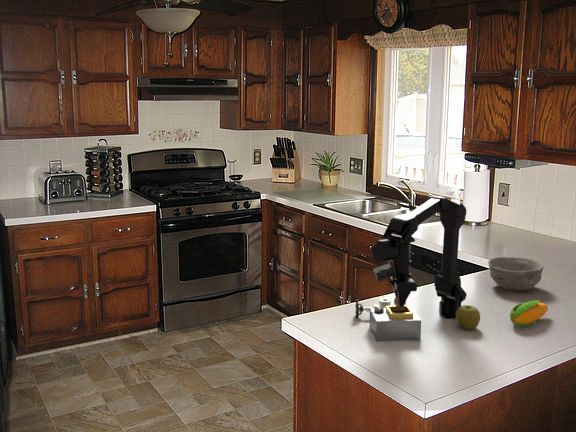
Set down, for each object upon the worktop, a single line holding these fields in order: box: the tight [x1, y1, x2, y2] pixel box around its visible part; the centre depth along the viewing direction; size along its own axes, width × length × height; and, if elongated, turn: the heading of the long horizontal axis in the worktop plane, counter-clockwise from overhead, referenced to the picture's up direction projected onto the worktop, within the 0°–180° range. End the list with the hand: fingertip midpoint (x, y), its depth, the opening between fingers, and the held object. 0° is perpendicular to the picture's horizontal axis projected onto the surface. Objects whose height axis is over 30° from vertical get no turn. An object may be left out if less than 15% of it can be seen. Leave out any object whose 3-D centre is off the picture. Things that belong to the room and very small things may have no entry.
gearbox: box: [369, 304, 422, 342], centre depth 201 cm, size 14×12×8 cm
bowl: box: [487, 256, 544, 292], centre depth 245 cm, size 21×21×10 cm
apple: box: [455, 304, 481, 330], centre depth 205 cm, size 8×8×7 cm
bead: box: [393, 296, 407, 308], centre depth 199 cm, size 4×4×4 cm
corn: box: [509, 299, 549, 328], centre depth 209 cm, size 7×8×20 cm
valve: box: [355, 297, 391, 319], centre depth 215 cm, size 7×7×12 cm
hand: (399, 304), depth 200 cm, fingers closed on bead, 4 cm apart
